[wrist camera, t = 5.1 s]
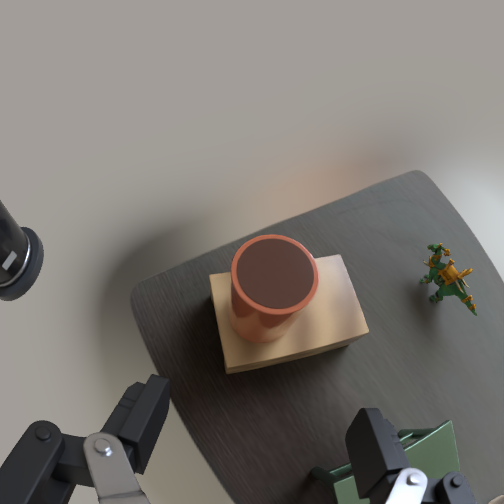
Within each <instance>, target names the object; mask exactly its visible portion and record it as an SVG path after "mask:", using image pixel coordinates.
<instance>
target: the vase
mask: <svg viewBox="0 0 504 504" xmlns="http://www.w3.org/2000/svg"><path fill="white" fill-rule="evenodd" d="M488 504H504V495H501V496H499V497H496V498H495V499H493V500H492V501H490V502H489V503H488Z"/></svg>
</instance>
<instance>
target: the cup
mask: <svg viewBox="0 0 504 504" xmlns="http://www.w3.org/2000/svg"><path fill="white" fill-rule="evenodd" d="M318 285H319V272H318V267H317V264H316V262H315V260H314V258H313V256H312V255H311V254H310V252H309V251H308V250H307V249H306V248H305V247H304V246H302V245H301V244H300V243H298V242H297V241H295V240H293V239H291V238H288V237H285V236H281V235H262V236H258V237H255V238H253V239H251V240H249V241H247V242H246V243H245V244H243V245H242V246H241V247H240V248H239V249H238V251H237V252H236V254H235V255H234V258H233V260H232V263H231V270H230V284H229V298H228V318H229V322H230V324H231V326H232V327H233V329H234V330H235V332H236V333H237V334H238V335H240V336H241V337H242V338H244V339H246V340H248V341H250V342H254V343H269V342H273V341H275V340H277V339H279V338H281V337H282V336H283V335H284V334H285V333H286V332H287V331H288V330H289V328H290V327H291V326H292V325H293V323H294V322H295V321H296V320H297V318H298V317H299V316H300V315H301V313H302V312H303V311H304V309H305V308H306V307H307V306H308V304H309V303H310V302H311V300H312V299H313V297H314V296H315V294H316V292H317V289H318Z"/></svg>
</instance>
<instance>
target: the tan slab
mask: <svg viewBox="0 0 504 504" xmlns="http://www.w3.org/2000/svg"><path fill="white" fill-rule="evenodd" d="M314 260H315V262H316V264H317V267H318V272H319V285H318V289H317V292H316V294H315V296H314V297H313V299H312V300H311V302H310V303H309V304H308V306H307V307H306V308H305V309H304V311H303V312H302V313H301V315H300V316H299V317H298V318H297V320H296V321H295V322H294V323H293V325H292V326H291V327H290V328H289V330H288V331H287V332H286V333H285V334H284V335H283V336H282V337H281V338H279V339H277V340H275V341H273V342H269V343H254V342H250V341H248V340H246V339H244V338H242V337H241V336H240V335H238V334H237V333H236V332H235V330H234V329H233V327H232V326H231V324H230V322H229V318H228V298H229V284H230V272H227V273H220V274H213V275H209V280H210V294H211V300H212V305H214V309H215V314H216V319H217V325H218V330H219V335H220V340H221V345H222V350H223V354H224V366H225V371H226V374H232V373H237V372H242V371H247V370H252V369H257V368H262V367H266V366H271V365H275V364H280V363H284V362H288V361H292V360H296V359H300V358H304V357H308V356H312V355H315V354H319V353H322V352H326V351H329V350H333V349H336V348H340V347H343V346H346V345H349V344H351V343H353V342H354V341H356V340H358V339H359V338H361V337H362V336H364V335H366V334H367V333H369V330H368V327H367V324H366V321H365V318H364V315H363V312H362V310H361V307H360V304H359V301H358V299H357V296H356V293H355V291H354V288H353V285H352V283H351V280H350V278H349V275H348V272H347V270H346V267H345V265H344V262H343V260H342V257H341V255H334V256H328V257H322V258H316V259H314Z"/></svg>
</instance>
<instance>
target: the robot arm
mask: <svg viewBox="0 0 504 504" xmlns="http://www.w3.org/2000/svg"><path fill="white" fill-rule="evenodd" d="M31 256H32V243H31V240H30V238H29V237H28V236H27V235H26V233H25V232H23V231H22V229H21V228H20V227H19V225H18V224H17V223H16V221H15V220H14V219H13V217H12V216H11V215H10V213H9V212H8V210H7V209H6V208H5V206H4V205H3V204H2V202H1V200H0V288H8V287H10V286H12V285H14V284H15V283H16V282H17V281H18V280H19V279H20V278H21V277H22V276H23V275H24V273H25V271H26V270H27V268H28V266H29V263H30V260H31ZM169 400H170V379H168V378H165V377H161V376H158V375H154V374H152V375H151V376H150V378H149V380H148V381H147V383H146V384H143V383H139V382H136V383H135V384H133V385H132V386H130V387H128V388H127V390H126V392H125V393H124V395H123V396H122V398H121V400H120V401H119V403H118V405H117V406H116V407H115V409H114V411H113V412H112V414H111V415H110V417H109V418H108V420H107V422H106V423H105V425H104V427H103V428H102V429H101V431H100V432H97V433H93V434H91V435H89V436H88V437H78V436H72V435H67V434H63V433H61V431H60V429H59V428H58V427H57V426H56V425H55V424H53V423H51V422H49V421H44V420H43V421H37V422H34V423H32V424H31V425H30V426H29V427H28V429H27V430H26V431H25V433H24V434H23V435H22V437H21V438H20V440H19V441H18V443H17V444H16V445H15V447H14V448H13V450H12V452H11V453H10V454H9V456H8V457H7V458H6V460H5V461H4V463H3V464H2V466H1V468H0V504H68V502H69V500H70V497H71V495H72V493H73V491H74V488H75V486H76V484H78V485H83V486H88V487H95V489H96V492H97V495H98V501H99V504H150V502H149V500H148V498H147V497H146V495H145V493H144V492H143V491H142V490H141V488H140V486H139V483H138V481H137V479H136V477H135V475H134V474H135V472H136V473H139V474H142V475H143V474H144V471H145V469H146V466H147V464H148V461H149V458H150V456H151V454H152V451H153V449H154V446H155V444H156V441H157V439H158V436H159V434H160V432H161V429H162V426H163V424H164V421H165V419H166V417H167V414H168V410H169ZM345 442H346V447H347V450H348V454H349V458H350V462H351V467H352V471H353V475H354V479H355V483H356V487H357V492H358V496H359V499H367V498H369V500H370V503H369V504H477V503H476V500H475V498H474V496H473V493H472V491H471V489H470V486H469V484H468V482H467V480H466V478H465V476H464V475H463V474H461V473H459V472H456V471H451V472H448V473H447V474H446V475H445V476H444V477H443V478H442V479H436V478H426V476H425V474H424V473H423V472H422V471H421V470H419V469H416V468H412V467H411V465H410V463H409V460H408V458H407V456H406V453H405V451H404V449H403V446H402V444H401V443H400V439H399V437H397V433H396V430H395V428H394V426H393V425H392V424H391V423H390V422H389V421H388V420H387V419H383V417H382V414H381V412H380V410H379V409H378V408H361V409H360V410H359V412H358V413H357V415H356V417H355V419H354V420H353V422H352V424H351V425H350V427H349V429H348V430H347V433H346V438H345Z"/></svg>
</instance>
